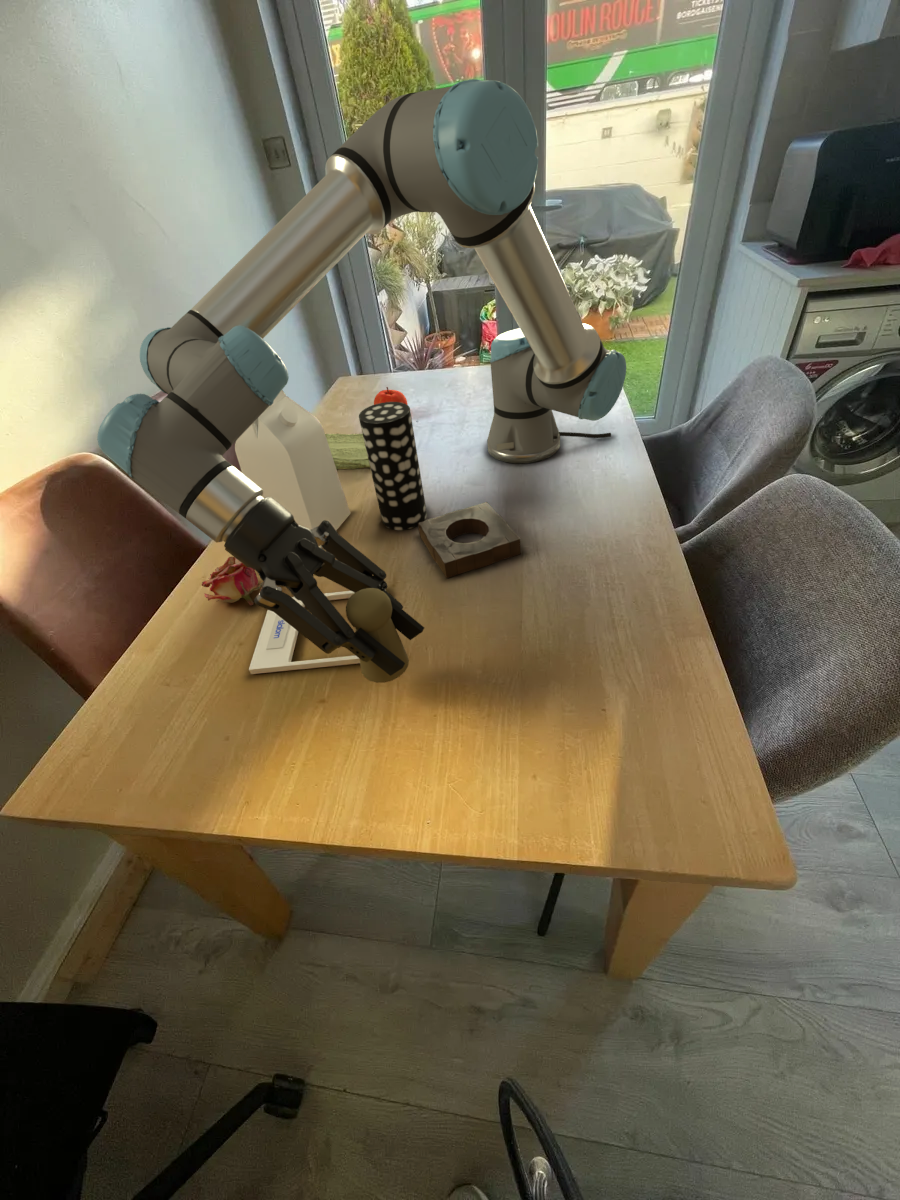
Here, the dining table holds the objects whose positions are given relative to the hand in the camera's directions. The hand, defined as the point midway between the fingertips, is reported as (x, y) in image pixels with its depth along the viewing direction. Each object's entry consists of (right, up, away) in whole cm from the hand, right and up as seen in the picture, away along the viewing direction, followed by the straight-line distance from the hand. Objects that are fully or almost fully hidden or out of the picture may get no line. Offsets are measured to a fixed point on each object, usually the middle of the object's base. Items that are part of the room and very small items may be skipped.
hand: (407, 651), depth 65 cm
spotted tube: (-3, +21, +37) cm, 43 cm away
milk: (-21, +19, +38) cm, 47 cm away
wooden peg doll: (-3, -2, +4) cm, 5 cm away
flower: (-29, +6, +24) cm, 38 cm away
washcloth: (-18, +38, +59) cm, 72 cm away
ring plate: (+8, +15, +28) cm, 33 cm away
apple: (-9, +50, +71) cm, 88 cm away
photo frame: (-14, +1, +16) cm, 21 cm away
